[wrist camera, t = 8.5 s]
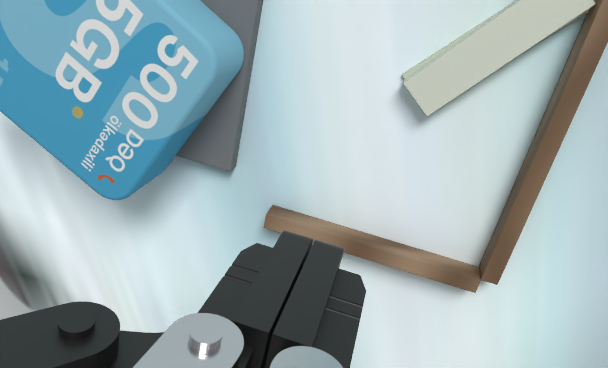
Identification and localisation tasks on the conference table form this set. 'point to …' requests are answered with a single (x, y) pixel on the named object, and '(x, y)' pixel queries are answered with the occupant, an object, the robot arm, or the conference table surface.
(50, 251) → the conference table surface
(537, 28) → the beige rectangular bar
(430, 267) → the brown wooden frame
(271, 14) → the conference table surface
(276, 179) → the conference table surface
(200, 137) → the rubber mat
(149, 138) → the data package
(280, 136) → the conference table surface
